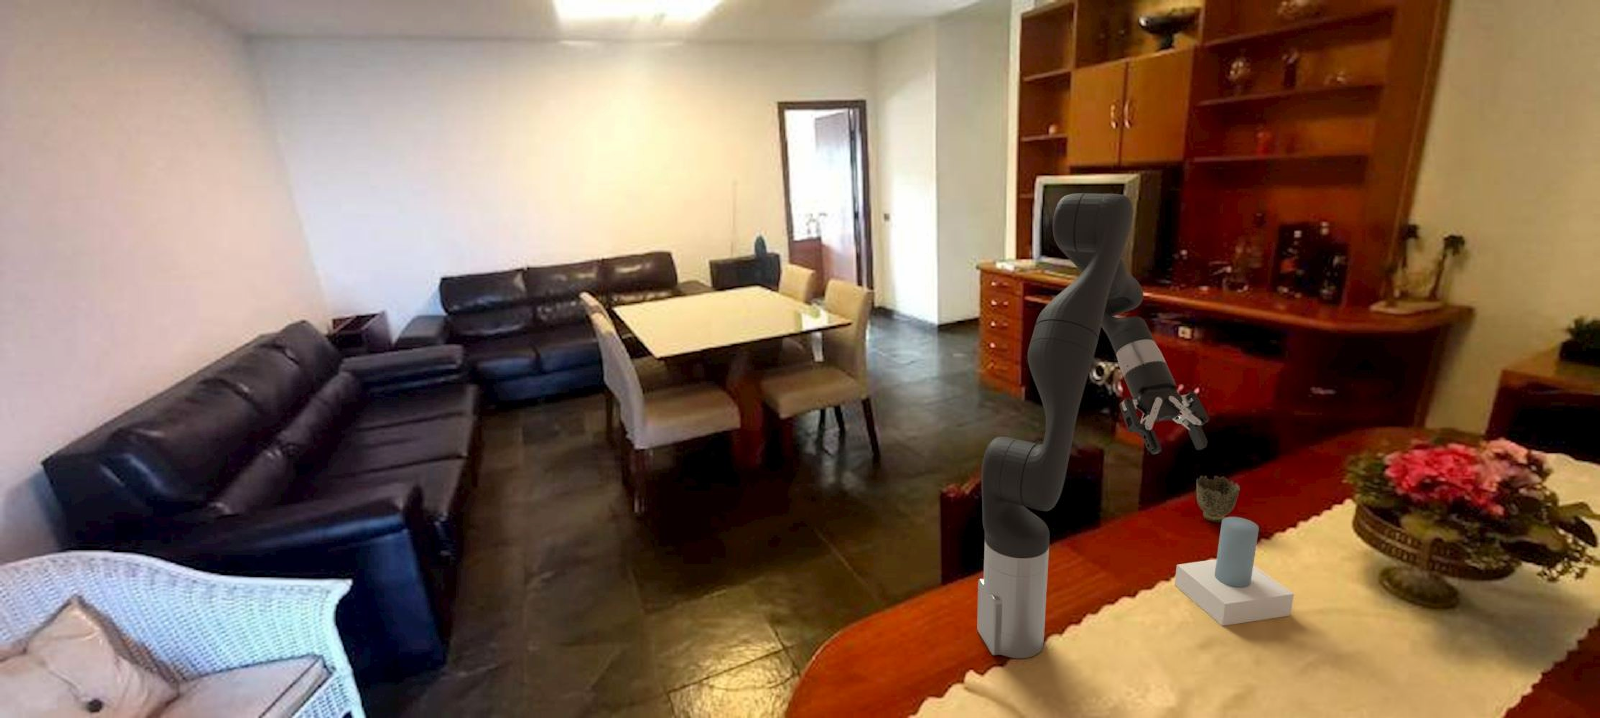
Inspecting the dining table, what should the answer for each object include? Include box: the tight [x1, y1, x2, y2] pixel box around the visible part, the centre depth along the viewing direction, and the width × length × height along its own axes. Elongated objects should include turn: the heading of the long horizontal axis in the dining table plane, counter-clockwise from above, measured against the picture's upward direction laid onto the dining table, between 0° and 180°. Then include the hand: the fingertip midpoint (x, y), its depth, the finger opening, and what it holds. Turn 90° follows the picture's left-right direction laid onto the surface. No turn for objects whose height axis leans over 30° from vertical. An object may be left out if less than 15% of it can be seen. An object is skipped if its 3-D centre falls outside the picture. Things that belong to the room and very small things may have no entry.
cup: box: [1195, 475, 1241, 523], centre depth 134 cm, size 8×7×8 cm
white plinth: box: [1174, 558, 1295, 627], centre depth 110 cm, size 12×11×4 cm
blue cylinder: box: [1215, 516, 1260, 588], centre depth 108 cm, size 5×5×10 cm
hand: (1179, 450), depth 116 cm, fingers open, 8 cm apart
